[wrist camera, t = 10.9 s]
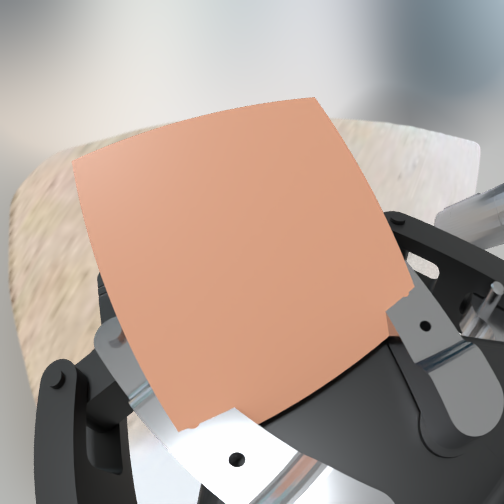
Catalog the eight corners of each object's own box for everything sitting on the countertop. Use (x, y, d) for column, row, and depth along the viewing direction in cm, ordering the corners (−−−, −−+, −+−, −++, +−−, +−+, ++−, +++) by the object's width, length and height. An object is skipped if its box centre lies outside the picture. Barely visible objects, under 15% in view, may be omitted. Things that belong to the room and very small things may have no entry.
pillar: (226, 232, 16) (314, 97, 5) (264, 313, 15) (421, 306, 5) (144, 266, 14) (71, 161, 4) (182, 352, 14) (193, 453, 3)
